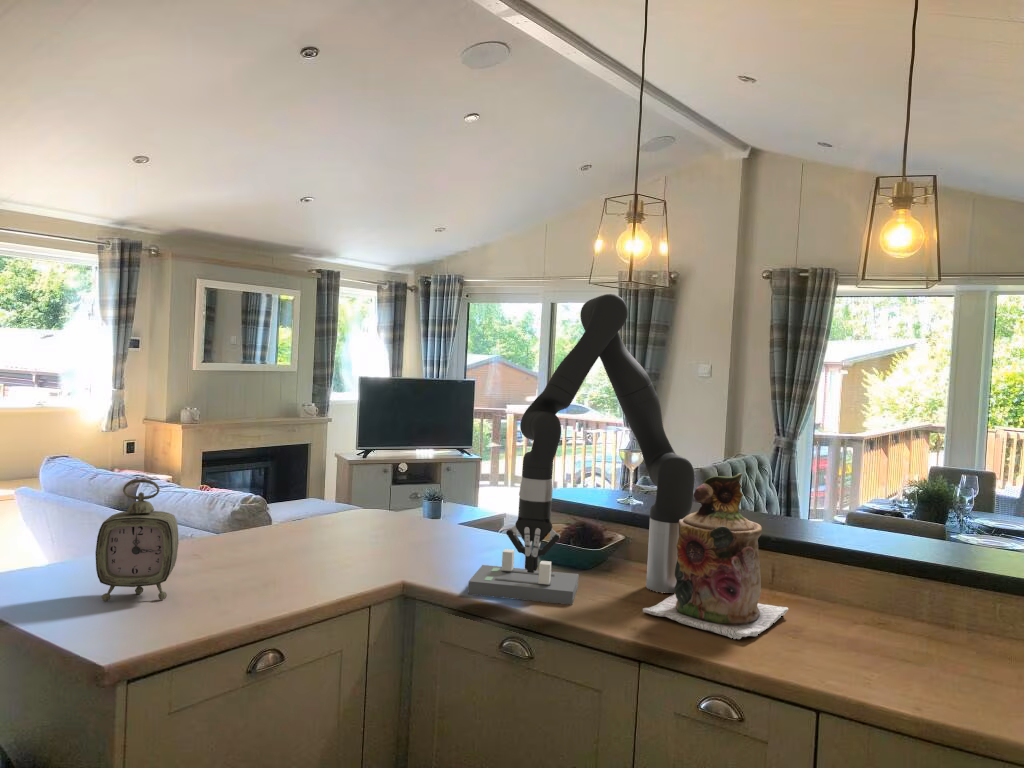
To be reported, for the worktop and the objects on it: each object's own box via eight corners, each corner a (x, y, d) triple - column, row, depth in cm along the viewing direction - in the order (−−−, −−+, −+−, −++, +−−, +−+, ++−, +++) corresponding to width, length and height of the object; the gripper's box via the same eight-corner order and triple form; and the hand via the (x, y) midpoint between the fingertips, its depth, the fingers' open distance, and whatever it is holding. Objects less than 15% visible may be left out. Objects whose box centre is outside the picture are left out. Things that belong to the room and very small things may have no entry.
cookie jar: (689, 592, 181) (696, 461, 181) (790, 617, 166) (799, 474, 165) (638, 615, 162) (646, 469, 162) (748, 646, 147) (757, 484, 146)
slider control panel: (578, 586, 181) (578, 573, 181) (572, 605, 167) (573, 591, 167) (481, 576, 186) (482, 564, 186) (468, 594, 171) (468, 580, 171)
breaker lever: (513, 568, 182) (514, 549, 182) (511, 571, 179) (512, 552, 179) (503, 567, 183) (504, 548, 182) (501, 570, 180) (502, 551, 180)
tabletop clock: (93, 604, 151) (98, 482, 151) (104, 591, 160) (109, 475, 159) (170, 602, 155) (175, 482, 155) (177, 589, 164) (182, 476, 163)
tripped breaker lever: (550, 580, 173) (551, 561, 172) (548, 584, 170) (549, 564, 169) (540, 579, 173) (541, 560, 173) (538, 583, 170) (539, 563, 170)
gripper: (565, 497, 174) (561, 570, 174) (510, 492, 176) (505, 564, 177) (562, 502, 167) (557, 579, 167) (504, 497, 169) (499, 572, 169)
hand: (530, 571), depth 172 cm, fingers closed
